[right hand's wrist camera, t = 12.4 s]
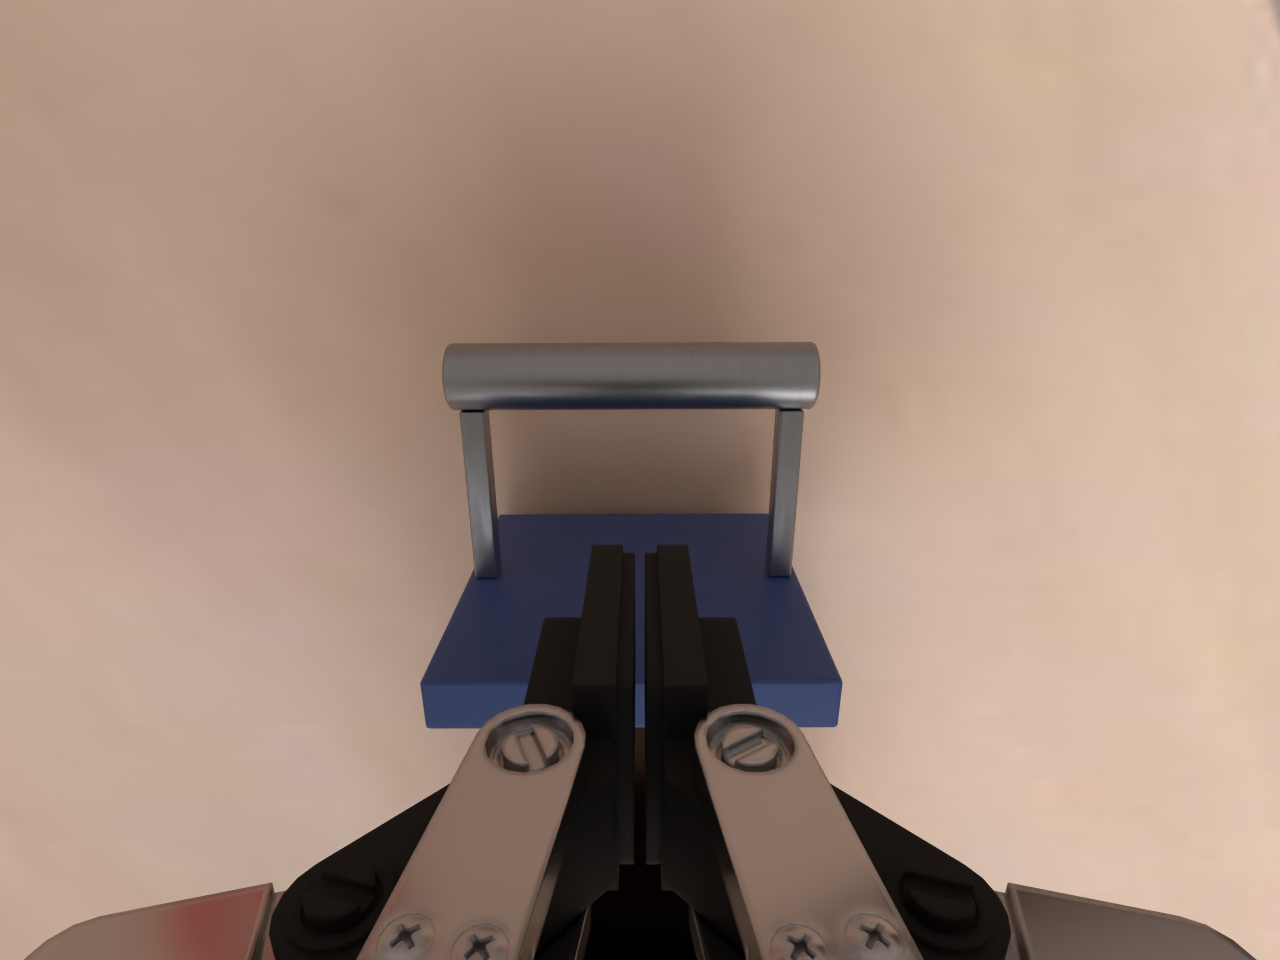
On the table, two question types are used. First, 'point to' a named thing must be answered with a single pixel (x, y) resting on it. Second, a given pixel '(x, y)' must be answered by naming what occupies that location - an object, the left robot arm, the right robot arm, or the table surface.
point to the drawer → (560, 554)
